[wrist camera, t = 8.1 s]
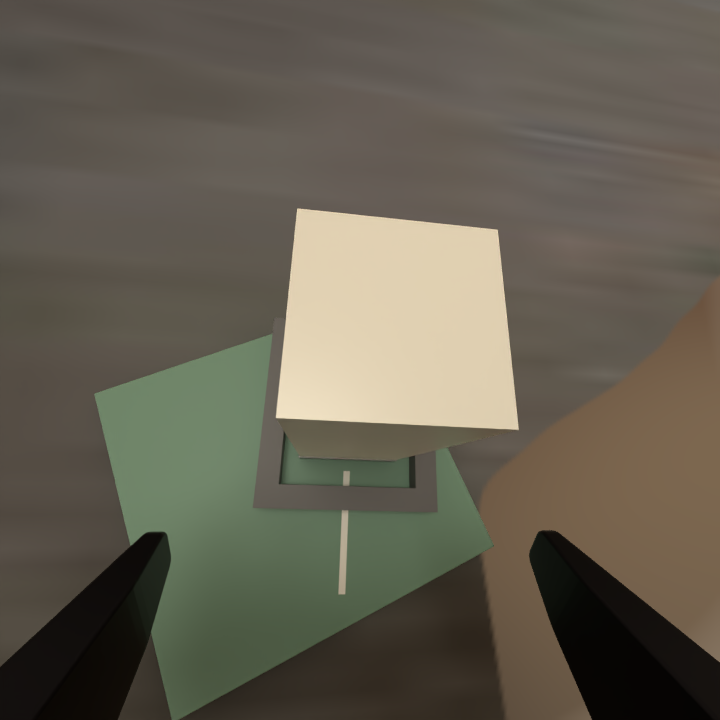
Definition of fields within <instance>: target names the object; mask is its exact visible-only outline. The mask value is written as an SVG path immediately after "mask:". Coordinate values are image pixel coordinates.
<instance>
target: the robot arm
mask: <svg viewBox="0 0 720 720" xmlns="http://www.w3.org/2000/svg"><path fill="white" fill-rule="evenodd" d="M529 557H530V563H531V566H532V569H533V572H534V575H535V578H536V581H537V584H538V586H539V590H540V593H541V596H542V598H543V602H544V605H545V607H546V611H547V613H548V617H549V620H550V622H551V625H552V628H553V630H554V632H555V635H556V637H557V640H558V642H559V645H560V647H561V649H562V651H563V654H564V656H565V658H566V661H567V663H568V665H569V668H570V670H571V672H572V675H573V677H574V679H575V681H576V684H577V686H578V688H579V691H580V693H581V695H582V698H583V700H584V702H585V705H586V706H587V709H588V711H589V714H590V716H591V718H592V720H720V662H719V661H717V660H716V659H715V658H714V657H712V656H711V655H710V654H709V653H707V652H706V651H705V650H704V649H702V648H701V647H700V646H699V645H697V644H696V643H695V642H694V641H692V640H691V639H690V638H689V637H688V636H686V635H685V634H684V633H682V632H681V631H680V630H679V629H678V628H676V627H675V626H674V625H673V624H671V623H670V622H669V621H668V620H666V619H665V618H664V617H663V616H661V615H660V614H659V613H658V612H656V611H655V610H654V609H653V608H652V607H650V606H649V605H648V604H647V603H645V602H644V601H643V600H642V599H640V598H639V597H638V596H637V595H635V594H634V593H633V592H632V591H630V590H629V589H628V588H627V587H625V586H624V585H623V584H622V583H620V582H619V581H618V580H617V579H616V578H614V577H613V576H612V575H610V574H609V573H608V572H607V571H606V570H604V569H603V568H602V567H601V566H599V565H598V564H597V563H596V562H595V561H593V560H592V559H591V558H590V557H588V556H587V555H586V554H585V553H583V552H582V551H581V550H580V549H578V548H577V547H576V546H575V545H573V544H572V543H571V542H570V541H568V540H567V539H566V538H565V537H563V536H562V535H561V534H560V533H558V532H556V531H552V530H551V531H550V530H549V531H545V530H543V531H540V532H538V534H537V536H536V538H535V540H534V543H533V545H532V547H531V549H530V553H529ZM170 563H171V552H170V546H169V541H168V536H167V534H166V532H163V531H150V532H146V533H145V534H143V535H142V536H141V537H140V538H139V539H138V540H137V541H136V542H135V543H133V544H132V545H131V546H130V547H129V548H128V549H127V550H126V551H125V552H124V553H123V554H122V555H120V556H119V557H118V558H117V559H116V560H115V561H114V562H113V563H112V564H111V565H110V566H109V567H108V568H106V569H105V570H104V571H103V572H102V573H101V574H100V575H99V576H98V577H97V578H96V579H95V580H94V581H92V582H91V583H90V584H89V585H88V586H87V587H86V588H85V589H84V590H83V591H82V592H81V593H80V594H78V595H77V596H76V597H75V598H74V599H73V600H72V601H71V602H70V603H69V604H68V605H67V606H65V607H64V608H63V609H62V610H61V611H60V612H59V613H58V614H57V615H56V616H55V617H54V618H53V619H51V620H50V621H49V622H48V623H47V624H46V625H45V626H44V627H43V628H42V629H41V630H40V631H39V632H37V633H36V634H35V635H34V636H33V637H32V638H31V639H30V640H29V641H28V642H27V643H26V644H24V645H23V646H22V647H21V648H20V649H19V650H18V651H17V652H16V653H15V654H14V655H13V656H12V657H10V658H9V659H8V660H7V661H6V662H5V663H4V664H3V665H2V666H1V667H0V720H118V717H119V715H120V712H121V710H122V707H123V705H124V702H125V700H126V697H127V695H128V692H129V689H130V687H131V684H132V682H133V679H134V677H135V674H136V672H137V669H138V667H139V664H140V662H141V659H142V657H143V654H144V651H145V648H146V646H147V643H148V640H149V637H150V633H151V630H152V627H153V623H154V620H155V616H156V613H157V609H158V606H159V603H160V599H161V596H162V592H163V589H164V585H165V582H166V578H167V575H168V571H169V568H170Z"/></svg>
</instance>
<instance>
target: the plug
mask: <svg viewBox="0 0 720 720" xmlns="http://www.w3.org/2000/svg"><path fill="white" fill-rule="evenodd" d="M276 419H277V421H278V422H279V424H280V425H281V427H282V429H283V430H284V432H285V433H286V435H287V437H288V438H289V440H290V441H291V443H292V445H293V446H294V448H295V449H296V451H297V453H298V454H299V459H325V460H351V461H377V462H395V461H397V460H398V459H402V458H406V457H410V456H414V455H418V454H422V453H426V452H430V451H435V450H439V449H443V448H447V447H451V446H455V445H459V444H463V443H467V442H471V441H475V440H479V439H483V438H487V437H491V436H496V435H500V434H504V433H508V432H512V431H516V430H519V429H518V419H517V410H516V400H515V391H514V381H513V372H512V362H511V353H510V343H509V334H508V324H507V315H506V305H505V296H504V286H503V277H502V267H501V257H500V248H499V238H498V230H494V229H485V228H475V227H466V226H457V225H447V224H438V223H428V222H419V221H410V220H400V219H391V218H381V217H372V216H363V215H353V214H344V213H335V212H325V211H316V210H306V209H297V217H296V227H295V237H294V246H293V256H292V266H291V275H290V285H289V295H288V305H287V314H286V324H285V334H284V343H283V353H282V363H281V372H280V382H279V392H278V402H277V411H276Z"/></svg>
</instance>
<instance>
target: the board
mask: <svg viewBox="0 0 720 720" xmlns="http://www.w3.org/2000/svg"><path fill="white" fill-rule="evenodd" d="M285 324H286V318H275V317H274V325H273V334H270V335H267V336H264V337H261V338H258V339H256V340H253V341H250V342H247V343H244V344H241V345H238V346H235V347H232V348H229V349H226V350H223V351H220V352H217V353H214V354H211V355H208V356H205V357H202V358H199V359H196V360H193V361H190V362H187V363H184V364H181V365H178V366H175V367H172V368H169V369H166V370H164V371H161V372H158V373H155V374H152V375H149V376H146V377H143V378H140V379H137V380H134V381H131V382H128V383H125V384H122V385H119V386H116V387H113V388H110V389H107V390H104V391H101V392H98V393H95V399H96V403H97V407H98V411H99V415H100V420H101V424H102V428H103V432H104V436H105V441H106V445H107V449H108V453H109V457H110V462H111V466H112V470H113V474H114V478H115V483H116V487H117V491H118V495H119V499H120V504H121V508H122V512H123V516H124V521H125V525H126V529H127V533H128V537H129V542H130V546H131V545H132V544H133V543H135V542H136V541H137V540H138V539H139V538H140V537H141V536H142V535H143V534H145V533H146V532H150V531H163V532H166V534H167V536H168V541H169V546H170V552H171V563H170V568H169V571H168V575H167V578H166V582H165V585H164V589H163V592H162V596H161V599H160V603H159V606H158V609H157V613H156V616H155V620H154V623H153V627H152V630H151V634H152V638H153V643H154V647H155V651H156V655H157V659H158V664H159V668H160V672H161V676H162V680H163V685H164V689H165V693H166V697H167V701H168V706H169V710H170V714H171V718H172V720H179V719H181V718H182V717H184V716H186V715H188V714H190V713H191V712H193V711H195V710H197V709H199V708H201V707H202V706H204V705H206V704H208V703H210V702H211V701H213V700H215V699H217V698H219V697H221V696H222V695H224V694H226V693H228V692H230V691H231V690H233V689H235V688H237V687H239V686H241V685H242V684H244V683H246V682H248V681H250V680H251V679H253V678H255V677H257V676H259V675H261V674H262V673H264V672H266V671H268V670H270V669H271V668H273V667H275V666H277V665H279V664H281V663H282V662H284V661H286V660H288V659H290V658H291V657H293V656H295V655H297V654H299V653H301V652H302V651H304V650H306V649H308V648H310V647H311V646H313V645H315V644H317V643H319V642H321V641H322V640H324V639H326V638H328V637H330V636H331V635H333V634H335V633H337V632H339V631H341V630H342V629H344V628H346V627H348V626H350V625H351V624H353V623H355V622H357V621H359V620H361V619H362V618H364V617H366V616H368V615H370V614H371V613H373V612H375V611H377V610H379V609H381V608H382V607H384V606H386V605H388V604H390V603H391V602H393V601H395V600H397V599H399V598H401V597H402V596H404V595H406V594H408V593H410V592H411V591H413V590H415V589H417V588H419V587H421V586H422V585H424V584H426V583H428V582H430V581H431V580H433V579H435V578H437V577H439V576H441V575H442V574H444V573H446V572H448V571H450V570H451V569H453V568H455V567H457V566H459V565H461V564H462V563H464V562H466V561H468V560H470V559H472V558H473V557H475V556H477V555H479V554H481V553H482V552H484V551H486V550H488V549H490V548H491V547H493V546H494V545H493V543H492V540H491V539H490V536H489V534H488V532H487V530H486V528H485V526H484V524H483V522H482V519H481V517H480V515H479V513H478V511H477V509H476V507H475V505H474V503H473V501H472V498H471V496H470V494H469V492H468V490H467V488H466V486H465V484H464V482H463V479H462V477H461V475H460V473H459V471H458V469H457V467H456V465H455V463H454V461H453V458H452V456H451V454H450V452H449V450H448V448H443V449H439V450H435V451H430V452H426V453H422V454H418V455H414V456H410V457H406V458H402V459H398V460H397V461H395V462H377V461H351V460H325V459H299V454H298V453H297V451H296V449H295V448H294V446H293V445H292V443H291V441H290V440H289V438H288V437H287V435H286V433H285V432H284V430H283V429H282V427H281V425H280V424H279V422H278V421H277V419H276V411H277V402H278V392H279V382H280V372H281V363H282V353H283V343H284V334H285Z"/></svg>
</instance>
